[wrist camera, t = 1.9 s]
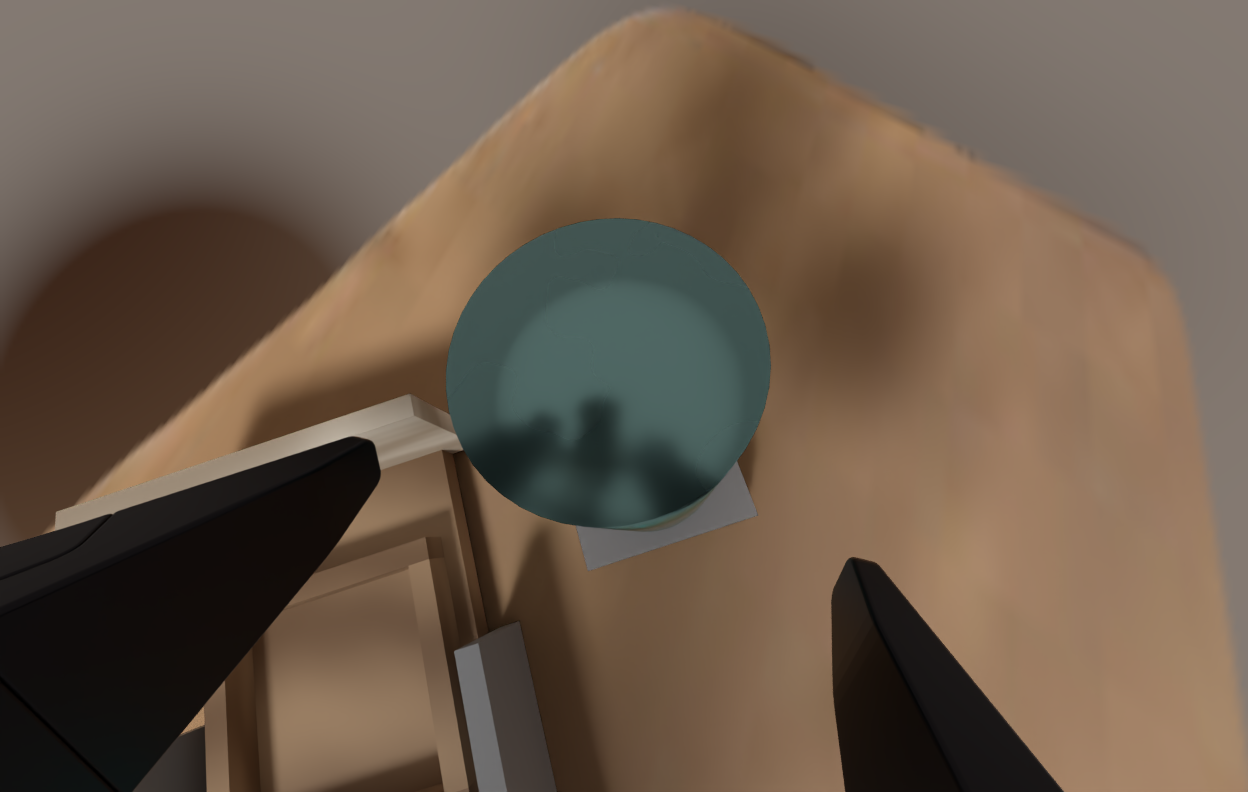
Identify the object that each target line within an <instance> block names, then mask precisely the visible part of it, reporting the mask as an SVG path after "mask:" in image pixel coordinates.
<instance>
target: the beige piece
mask: <svg viewBox="0 0 1248 792" xmlns="http://www.w3.org/2000/svg"><path fill="white" fill-rule="evenodd" d="M349 436H357V437H361V438H365V439H369V440H371V441H373V443H374V444H375V446H376V451H377V455H378V460H379V465H380V469H381V477H380V481H379V483H378V485H377V487H376V488H375V489H374V491H373V492H372V494H371V495H370V497H369V498H368V500H367V501H366V503H365V504H364V506H363V507H362V509H361V510H360V511H359V513H358V514H357V516H356V517H355V519H354V520H353V522H352V523H351V525H350V526H349V528H348V529H347V531H346V532H345V533H344V535H343V536H342V538H341V539H340V541H339V542H338V543H337V545H336V546H335V548H334V549H333V550H332V551H331V553H330V554H329V555H328V557H327V558H326V559H325V560H324V561H323V563H322V564H321V565H320V566H319V568H318V569H317V570H316V571H315V572H314V574H313V575H312V576H311V577H310V578H309V580H308V581H307V582H306V583H305V584H304V586H303V587H302V588H301V589H300V590H299V592H298V593H297V594H296V595H295V596H294V598H293V599H292V600H291V601H290V603H289V604H288V605H287V606H286V607H285V609H284V610H283V611H282V612H281V613H280V615H279V616H278V617H277V618H276V619H275V621H274V622H273V623H272V624H271V625H270V627H269V628H268V629H267V630H266V631H265V633H264V634H263V635H262V636H261V638H260V639H259V640H258V641H257V642H256V644H255V645H254V646H253V647H252V648H251V650H250V651H249V652H248V653H247V654H246V656H245V657H244V658H243V659H242V660H241V662H240V663H239V664H238V665H237V666H236V668H235V669H234V670H233V671H232V673H231V674H230V675H229V676H228V677H227V679H226V680H225V681H224V682H223V683H222V685H221V686H220V687H219V688H218V689H217V691H216V692H215V693H214V694H213V695H212V697H211V698H210V699H209V700H208V701H207V703H206V704H205V705H204V714H205V747H206V781H207V792H479V788H478V783H477V777H476V772H475V766H474V760H473V755H472V749H471V743H470V738H469V732H468V727H467V721H466V715H465V710H464V704H463V699H462V693H461V687H460V682H459V676H458V670H457V665H456V659H455V654H454V651H455V650H457V649H459V648H461V647H463V646H465V645H467V644H469V643H471V642H472V641H474V640H476V639H478V638H480V637H482V636H484V635H486V634H488V633H489V632H488V627H487V622H486V617H485V612H484V607H483V602H482V597H481V592H480V587H479V582H478V577H477V572H476V567H475V562H474V557H473V553H472V548H471V543H470V538H469V533H468V528H467V523H466V518H465V513H464V508H463V503H462V498H461V493H460V488H459V483H458V478H457V473H456V468H455V463H454V458H453V453H456V452H459V451H462V450H463V448H462V446H461V444H460V442H459V439H458V437H457V435H456V432H455V430H454V427H453V424H452V420H451V416H450V414H448V413H446V412H444V411H442V410H440V409H438V408H436V407H435V406H433V405H431V404H429V403H427V402H425V401H423V400H421V399H419V398H418V397H416V396H414V395H412V394H407V395H404V396H401V397H398V398H395V399H392V400H389V401H386V402H383V403H380V404H377V405H374V406H371V407H368V408H365V409H362V410H359V411H356V412H353V413H350V414H347V415H344V416H342V417H339V418H336V419H333V420H330V421H327V422H324V423H321V424H318V425H315V426H312V427H309V428H306V429H303V430H300V431H297V432H294V433H291V434H288V435H285V436H282V437H279V438H276V439H273V440H270V441H267V442H264V443H261V444H258V445H255V446H252V447H249V448H246V449H243V450H240V451H237V452H234V453H231V454H228V455H225V456H222V457H219V458H216V459H213V460H210V461H207V462H204V463H201V464H198V465H195V466H192V467H189V468H186V469H183V470H180V471H177V472H174V473H171V474H169V475H166V476H163V477H160V478H157V479H154V480H151V481H148V482H145V483H142V484H139V485H136V486H133V487H130V488H127V489H124V490H121V491H118V492H115V493H112V494H109V495H106V496H103V497H100V498H97V499H94V500H91V501H88V502H85V503H82V504H79V505H76V506H73V507H70V508H67V509H64V510H61V511H58V512H56V523H55V531H56V530H59V529H62V528H66V527H69V526H72V525H75V524H79V523H82V522H85V521H88V520H91V519H94V518H97V517H100V516H103V515H106V514H114V513H115V512H117V511H119V510H122V509H125V508H129V507H132V506H135V505H138V504H141V503H144V502H147V501H150V500H153V499H156V498H160V497H163V496H166V495H169V494H172V493H175V492H178V491H181V490H184V489H188V488H191V487H194V486H197V485H200V484H203V483H206V482H209V481H212V480H216V479H219V478H222V477H225V476H228V475H231V474H234V473H237V472H240V471H243V470H247V469H250V468H253V467H256V466H259V465H262V464H265V463H268V462H271V461H275V460H278V459H281V458H284V457H287V456H290V455H293V454H296V453H299V452H302V451H306V450H309V449H312V448H315V447H318V446H321V445H324V444H327V443H330V442H334V441H337V440H340V439H343V438H346V437H349Z"/></svg>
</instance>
